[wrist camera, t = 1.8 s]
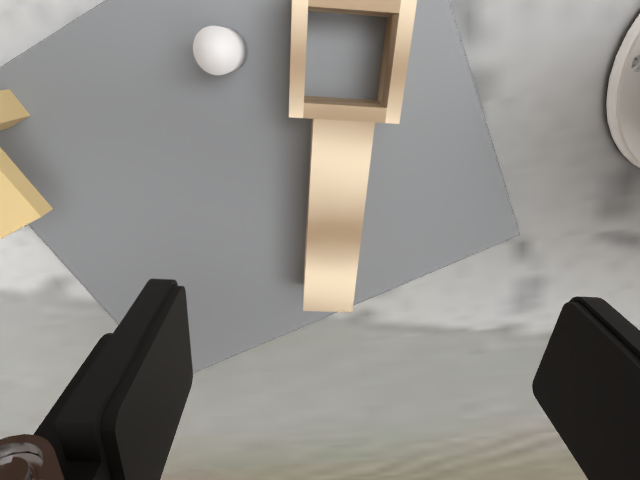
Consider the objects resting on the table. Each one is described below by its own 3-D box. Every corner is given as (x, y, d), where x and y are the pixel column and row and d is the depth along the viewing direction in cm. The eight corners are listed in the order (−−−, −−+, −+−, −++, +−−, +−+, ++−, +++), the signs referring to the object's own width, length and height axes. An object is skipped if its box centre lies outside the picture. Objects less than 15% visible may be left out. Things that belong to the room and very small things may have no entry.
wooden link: (294, -7, 20) (292, -14, 17) (402, 2, 20) (417, -5, 17) (285, 283, 27) (283, 310, 24) (365, 286, 27) (371, 313, 25)
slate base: (512, 228, 27) (566, 276, 21) (174, 372, 32) (146, 443, 26) (389, -172, 18) (426, -268, 12) (-58, 110, 23) (-177, 132, 17)
